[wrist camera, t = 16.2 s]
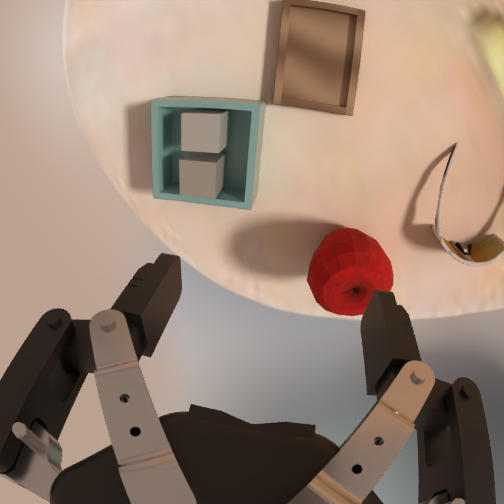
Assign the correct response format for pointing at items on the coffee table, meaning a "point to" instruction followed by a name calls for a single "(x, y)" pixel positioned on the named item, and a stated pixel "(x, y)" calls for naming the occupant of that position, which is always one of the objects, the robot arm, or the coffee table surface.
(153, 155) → the teal open box
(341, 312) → the apple
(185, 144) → the matte taupe cube
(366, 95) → the coffee table surface
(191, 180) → the block
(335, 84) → the tray
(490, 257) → the sunglasses
